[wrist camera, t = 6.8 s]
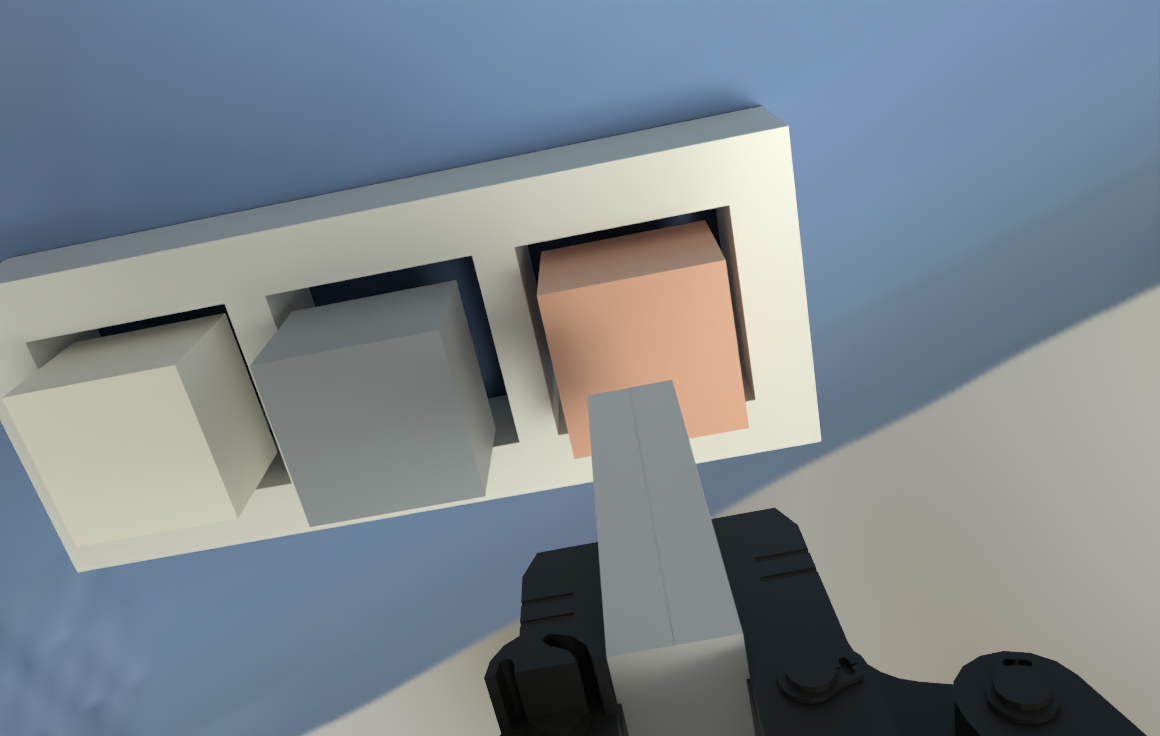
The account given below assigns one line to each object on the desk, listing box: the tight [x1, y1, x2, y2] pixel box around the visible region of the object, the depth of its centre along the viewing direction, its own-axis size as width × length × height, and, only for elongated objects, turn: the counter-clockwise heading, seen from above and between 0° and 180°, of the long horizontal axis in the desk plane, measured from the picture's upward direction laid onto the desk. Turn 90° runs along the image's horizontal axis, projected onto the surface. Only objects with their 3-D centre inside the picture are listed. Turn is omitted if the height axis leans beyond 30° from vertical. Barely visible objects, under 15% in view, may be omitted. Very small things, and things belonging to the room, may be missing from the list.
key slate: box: [250, 280, 496, 527], centre depth 21 cm, size 4×4×3 cm
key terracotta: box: [537, 220, 749, 459], centre depth 22 cm, size 4×4×3 cm
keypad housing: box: [0, 106, 821, 572], centre depth 24 cm, size 20×8×3 cm, turn 101°
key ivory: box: [2, 313, 277, 548], centre depth 22 cm, size 4×4×3 cm
